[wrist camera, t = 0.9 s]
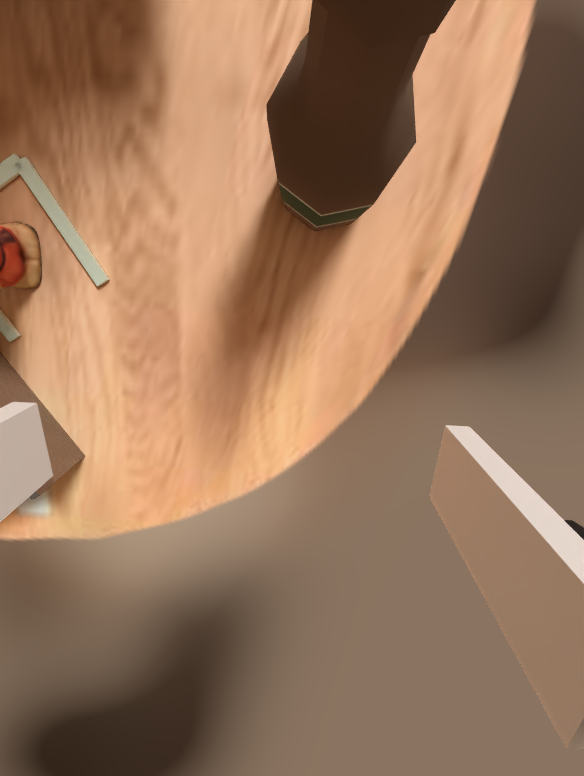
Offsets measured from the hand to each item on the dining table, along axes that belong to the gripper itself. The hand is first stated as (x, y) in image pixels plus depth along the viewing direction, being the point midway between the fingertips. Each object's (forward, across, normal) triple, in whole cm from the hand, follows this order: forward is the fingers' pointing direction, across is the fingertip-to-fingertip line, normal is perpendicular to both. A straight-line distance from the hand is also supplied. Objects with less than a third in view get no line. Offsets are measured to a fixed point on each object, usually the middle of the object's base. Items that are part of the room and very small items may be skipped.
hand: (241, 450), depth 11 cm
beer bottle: (+23, +3, +12) cm, 27 cm away
